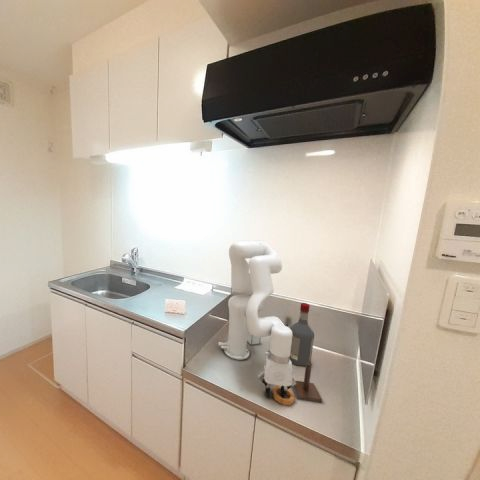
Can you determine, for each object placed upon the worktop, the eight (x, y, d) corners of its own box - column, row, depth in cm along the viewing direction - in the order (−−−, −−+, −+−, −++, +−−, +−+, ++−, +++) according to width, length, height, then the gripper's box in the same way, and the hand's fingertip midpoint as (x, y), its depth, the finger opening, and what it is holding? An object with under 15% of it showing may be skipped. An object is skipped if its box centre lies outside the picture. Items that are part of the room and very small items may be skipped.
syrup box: (254, 338, 146) (256, 315, 143) (260, 344, 140) (262, 320, 138) (245, 339, 145) (247, 315, 142) (250, 345, 139) (252, 321, 137)
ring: (275, 403, 101) (275, 399, 100) (270, 389, 108) (271, 385, 108) (296, 406, 100) (296, 402, 99) (289, 391, 107) (290, 387, 106)
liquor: (303, 355, 131) (310, 301, 126) (312, 367, 122) (320, 309, 117) (285, 354, 132) (291, 300, 127) (292, 365, 123) (299, 308, 118)
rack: (297, 398, 103) (300, 369, 101) (290, 382, 112) (293, 355, 109) (321, 402, 102) (325, 372, 99) (312, 386, 110) (316, 358, 108)
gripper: (258, 359, 99) (254, 399, 102) (305, 365, 96) (300, 406, 99) (255, 347, 106) (251, 385, 110) (299, 353, 103) (294, 392, 106)
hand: (275, 395), depth 104 cm, fingers open, 4 cm apart
